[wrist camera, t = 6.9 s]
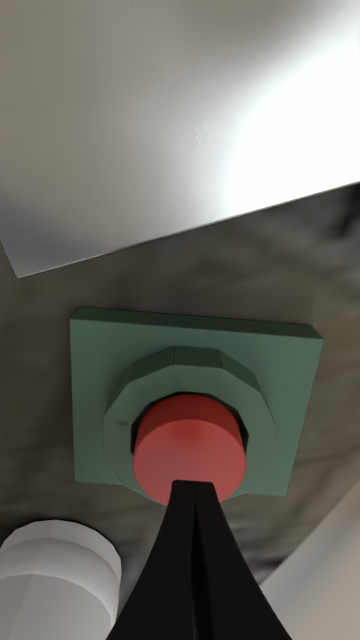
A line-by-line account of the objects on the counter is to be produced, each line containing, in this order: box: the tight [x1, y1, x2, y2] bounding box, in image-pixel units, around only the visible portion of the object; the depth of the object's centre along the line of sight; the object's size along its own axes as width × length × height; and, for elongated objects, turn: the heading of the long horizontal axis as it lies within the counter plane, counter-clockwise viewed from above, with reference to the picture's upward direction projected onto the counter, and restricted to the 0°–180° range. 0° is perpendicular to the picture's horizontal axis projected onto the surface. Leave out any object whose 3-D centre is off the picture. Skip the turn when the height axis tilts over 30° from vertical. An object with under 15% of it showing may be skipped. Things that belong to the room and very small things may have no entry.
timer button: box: [133, 394, 246, 506], centre depth 14 cm, size 4×4×2 cm
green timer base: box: [69, 307, 324, 505], centre depth 16 cm, size 11×9×4 cm
